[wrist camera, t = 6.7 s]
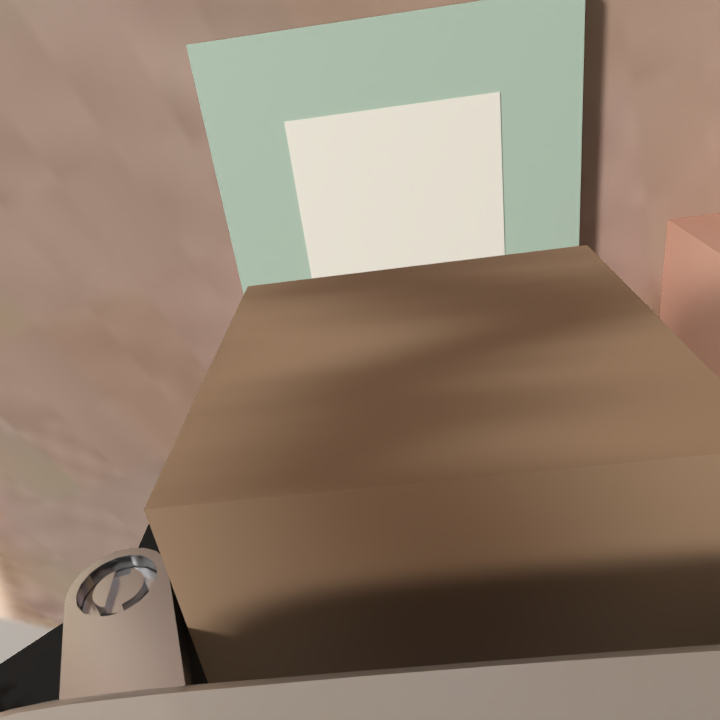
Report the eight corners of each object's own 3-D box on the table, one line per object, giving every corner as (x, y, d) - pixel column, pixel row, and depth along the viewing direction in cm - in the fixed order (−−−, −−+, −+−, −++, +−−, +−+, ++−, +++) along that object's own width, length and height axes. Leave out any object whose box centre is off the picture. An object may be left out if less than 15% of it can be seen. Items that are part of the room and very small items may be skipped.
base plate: (575, -14, 23) (586, -16, 22) (569, 338, 29) (576, 350, 28) (194, 44, 24) (185, 45, 23) (268, 371, 30) (264, 384, 29)
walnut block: (587, 244, 11) (786, 446, 6) (578, 512, 14) (708, 815, 9) (247, 286, 12) (144, 509, 6) (304, 537, 14) (266, 841, 9)
